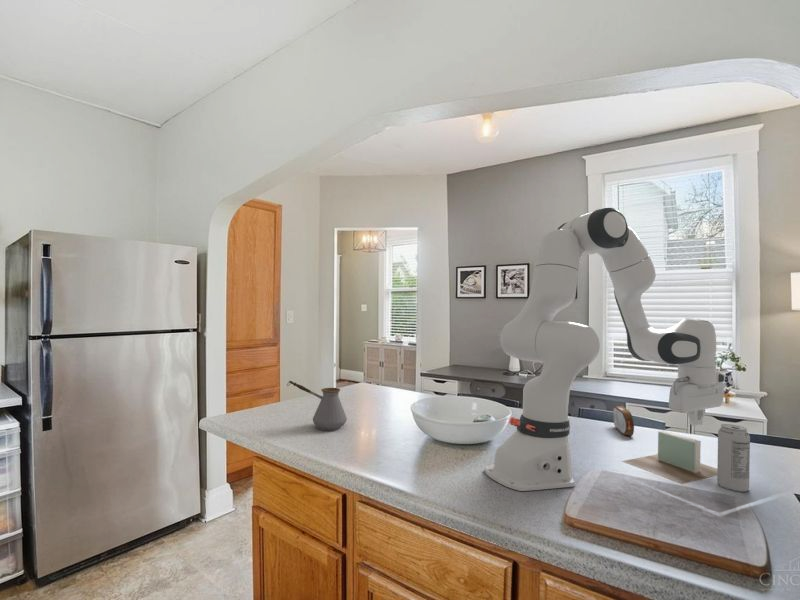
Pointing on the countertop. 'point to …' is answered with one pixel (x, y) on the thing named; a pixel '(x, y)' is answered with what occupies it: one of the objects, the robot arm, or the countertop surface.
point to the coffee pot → (327, 409)
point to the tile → (679, 451)
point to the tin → (623, 420)
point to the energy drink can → (733, 458)
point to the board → (671, 469)
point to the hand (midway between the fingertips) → (695, 424)
